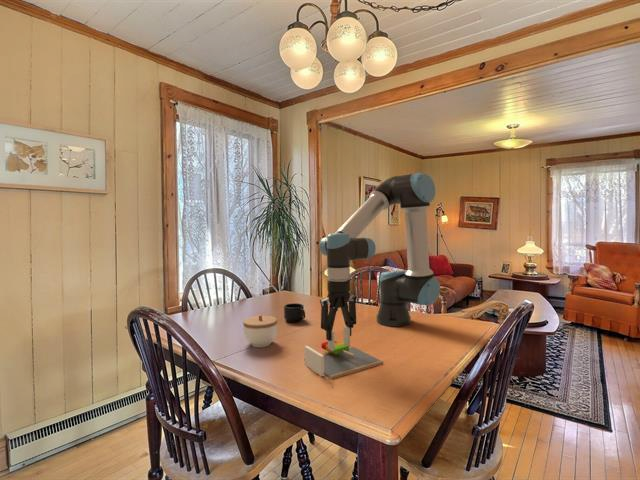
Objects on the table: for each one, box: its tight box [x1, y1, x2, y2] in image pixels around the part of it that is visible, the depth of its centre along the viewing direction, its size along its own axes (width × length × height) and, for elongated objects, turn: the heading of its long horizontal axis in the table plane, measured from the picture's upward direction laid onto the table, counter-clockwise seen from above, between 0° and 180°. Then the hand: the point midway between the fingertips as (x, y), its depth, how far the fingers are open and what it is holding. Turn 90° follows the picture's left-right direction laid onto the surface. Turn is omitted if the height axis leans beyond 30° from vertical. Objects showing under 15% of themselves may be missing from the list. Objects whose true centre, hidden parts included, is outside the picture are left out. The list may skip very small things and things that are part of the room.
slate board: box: [304, 346, 384, 380], centre depth 114 cm, size 20×16×1 cm
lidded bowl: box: [243, 314, 278, 348], centre depth 131 cm, size 13×13×11 cm
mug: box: [283, 302, 306, 323], centre depth 161 cm, size 12×9×7 cm
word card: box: [304, 345, 325, 377], centre depth 108 cm, size 1×10×6 cm, turn 32°
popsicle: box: [320, 341, 354, 356], centre depth 118 cm, size 6×15×2 cm, turn 35°
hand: (339, 347), depth 117 cm, fingers closed on popsicle, 6 cm apart
